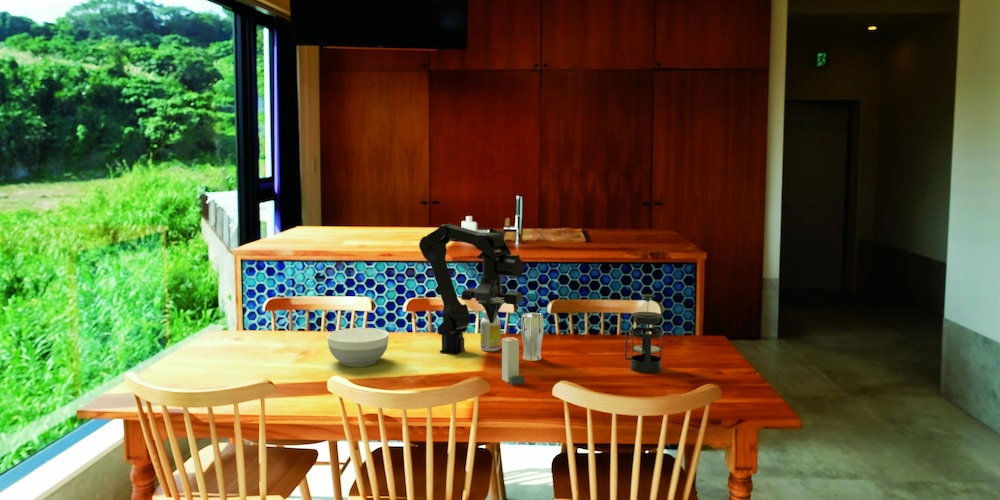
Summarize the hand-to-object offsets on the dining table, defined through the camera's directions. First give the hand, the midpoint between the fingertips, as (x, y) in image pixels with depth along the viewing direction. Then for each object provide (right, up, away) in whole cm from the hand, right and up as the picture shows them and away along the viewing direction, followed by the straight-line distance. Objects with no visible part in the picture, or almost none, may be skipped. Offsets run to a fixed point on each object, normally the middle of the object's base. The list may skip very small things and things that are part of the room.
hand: (491, 323), depth 260 cm
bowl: (-42, -12, 0) cm, 43 cm away
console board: (+3, -15, -19) cm, 24 cm away
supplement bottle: (-1, -10, +15) cm, 18 cm away
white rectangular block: (+5, -14, -23) cm, 28 cm away
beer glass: (+13, -12, +1) cm, 18 cm away
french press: (+46, -14, -7) cm, 49 cm away
